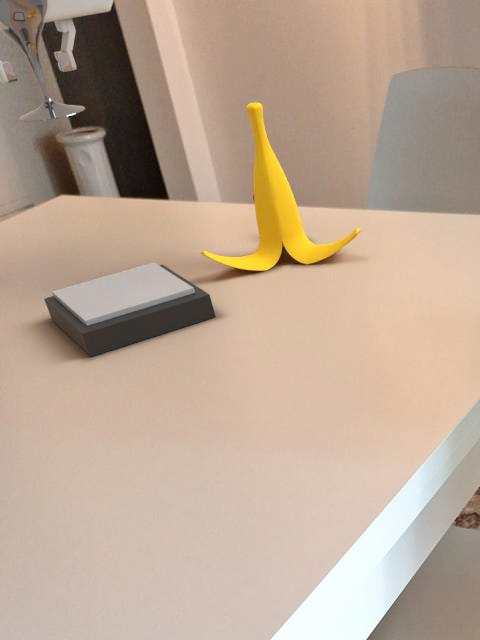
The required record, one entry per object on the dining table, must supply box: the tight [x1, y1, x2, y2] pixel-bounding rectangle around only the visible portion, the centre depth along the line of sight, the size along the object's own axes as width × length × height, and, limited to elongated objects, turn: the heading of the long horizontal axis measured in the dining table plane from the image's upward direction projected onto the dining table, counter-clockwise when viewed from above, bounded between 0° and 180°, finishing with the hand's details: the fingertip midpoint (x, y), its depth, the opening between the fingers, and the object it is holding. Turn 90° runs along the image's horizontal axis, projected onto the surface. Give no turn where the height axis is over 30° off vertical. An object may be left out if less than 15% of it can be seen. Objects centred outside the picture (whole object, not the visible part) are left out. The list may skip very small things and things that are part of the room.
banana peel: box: [200, 102, 362, 272], centre depth 108 cm, size 16×19×17 cm
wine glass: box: [0, 0, 86, 123], centre depth 98 cm, size 8×8×15 cm
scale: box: [43, 262, 216, 358], centre depth 101 cm, size 14×14×3 cm
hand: (39, 76), depth 100 cm, fingers closed on wine glass, 5 cm apart
